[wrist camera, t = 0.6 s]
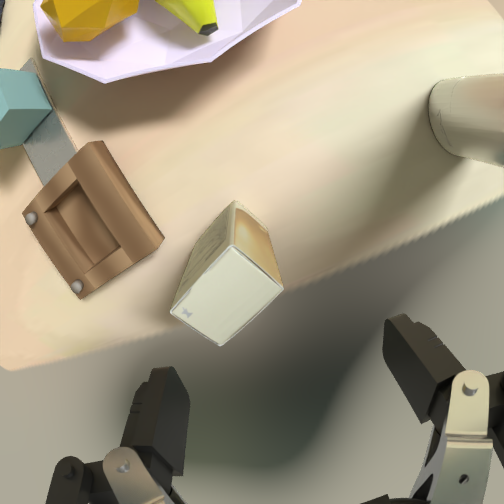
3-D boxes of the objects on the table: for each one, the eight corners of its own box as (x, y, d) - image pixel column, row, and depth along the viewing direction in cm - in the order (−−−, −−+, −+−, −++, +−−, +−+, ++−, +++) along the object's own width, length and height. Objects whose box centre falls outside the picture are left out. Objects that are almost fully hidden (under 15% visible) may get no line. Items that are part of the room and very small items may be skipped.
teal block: (35, 72, 19) (-6, 67, 12) (52, 109, 21) (9, 109, 14) (6, 109, 20) (-34, 112, 13) (21, 145, 22) (-21, 153, 15)
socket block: (102, 140, 23) (82, 142, 20) (164, 237, 28) (153, 253, 24) (37, 205, 26) (16, 216, 22) (91, 286, 30) (76, 304, 26)
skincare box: (226, 269, 29) (218, 351, 18) (193, 243, 28) (164, 315, 17) (270, 225, 28) (288, 290, 16) (236, 195, 26) (231, 243, 15)
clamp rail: (32, 58, 18) (30, 57, 18) (82, 158, 24) (80, 158, 24) (4, 93, 19) (1, 93, 19) (50, 191, 25) (47, 192, 25)
